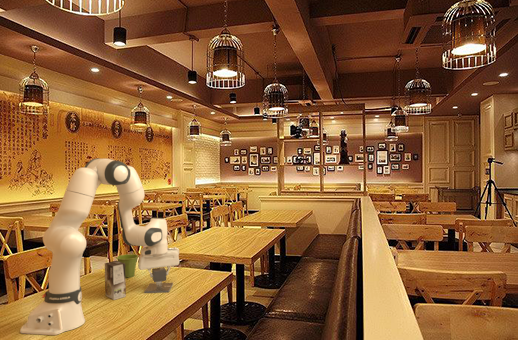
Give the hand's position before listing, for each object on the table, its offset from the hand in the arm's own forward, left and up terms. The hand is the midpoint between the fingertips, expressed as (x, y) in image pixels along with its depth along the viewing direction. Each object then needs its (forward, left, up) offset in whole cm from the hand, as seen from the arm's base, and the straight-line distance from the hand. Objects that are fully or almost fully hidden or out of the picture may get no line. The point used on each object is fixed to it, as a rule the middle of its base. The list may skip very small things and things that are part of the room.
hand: (159, 275), depth 192 cm
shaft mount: (0, 0, -6) cm, 7 cm away
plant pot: (-22, +23, -7) cm, 33 cm away
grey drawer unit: (0, 0, -2) cm, 2 cm away
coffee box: (-19, -9, -7) cm, 22 cm away
